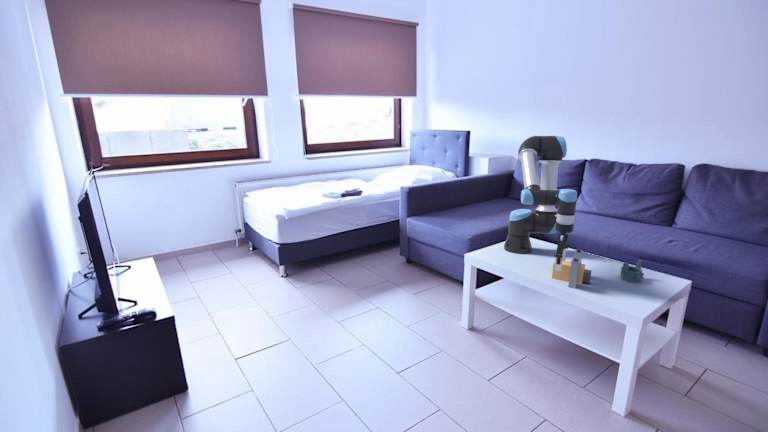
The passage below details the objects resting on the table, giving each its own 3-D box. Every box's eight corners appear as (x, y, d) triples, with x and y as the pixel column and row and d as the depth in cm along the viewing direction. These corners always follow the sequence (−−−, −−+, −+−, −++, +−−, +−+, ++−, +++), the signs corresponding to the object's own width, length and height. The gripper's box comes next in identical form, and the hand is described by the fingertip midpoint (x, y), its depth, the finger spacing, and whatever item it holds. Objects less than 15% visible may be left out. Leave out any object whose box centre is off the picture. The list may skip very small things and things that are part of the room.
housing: (572, 272, 191) (576, 247, 188) (579, 274, 190) (583, 248, 186) (568, 286, 176) (571, 259, 173) (575, 288, 174) (579, 261, 171)
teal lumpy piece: (620, 281, 182) (623, 263, 180) (619, 273, 190) (622, 256, 188) (643, 284, 178) (646, 266, 176) (640, 277, 186) (644, 260, 184)
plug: (553, 274, 190) (555, 259, 188) (590, 281, 182) (592, 265, 180) (551, 278, 185) (553, 262, 183) (589, 285, 177) (591, 269, 175)
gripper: (559, 216, 192) (555, 256, 197) (551, 227, 171) (547, 272, 176) (576, 218, 188) (571, 259, 193) (570, 230, 167) (565, 276, 172)
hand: (559, 265), depth 184 cm, fingers open, 13 cm apart
